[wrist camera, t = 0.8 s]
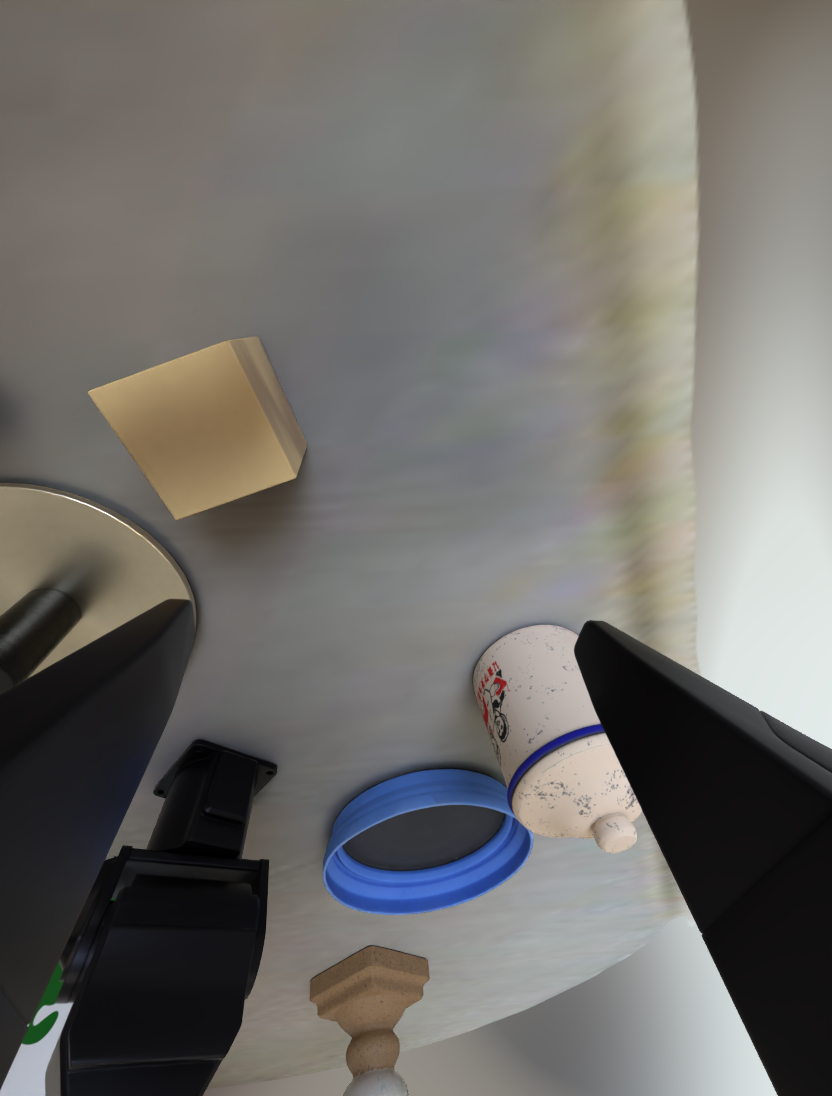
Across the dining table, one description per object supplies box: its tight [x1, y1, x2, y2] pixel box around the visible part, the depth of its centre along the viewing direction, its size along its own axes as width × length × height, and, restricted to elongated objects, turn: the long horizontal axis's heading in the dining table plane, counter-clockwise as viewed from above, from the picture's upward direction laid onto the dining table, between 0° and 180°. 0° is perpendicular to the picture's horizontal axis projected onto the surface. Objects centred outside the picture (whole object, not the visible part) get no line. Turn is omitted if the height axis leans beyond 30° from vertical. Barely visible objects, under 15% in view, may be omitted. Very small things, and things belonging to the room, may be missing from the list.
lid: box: [0, 483, 196, 694], centre depth 19 cm, size 13×13×6 cm
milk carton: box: [0, 898, 115, 1096], centre depth 28 cm, size 9×9×20 cm
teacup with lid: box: [473, 625, 642, 853], centre depth 26 cm, size 12×9×12 cm
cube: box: [88, 336, 307, 520], centre depth 17 cm, size 5×5×5 cm
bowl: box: [323, 769, 533, 915], centre depth 36 cm, size 18×18×4 cm
